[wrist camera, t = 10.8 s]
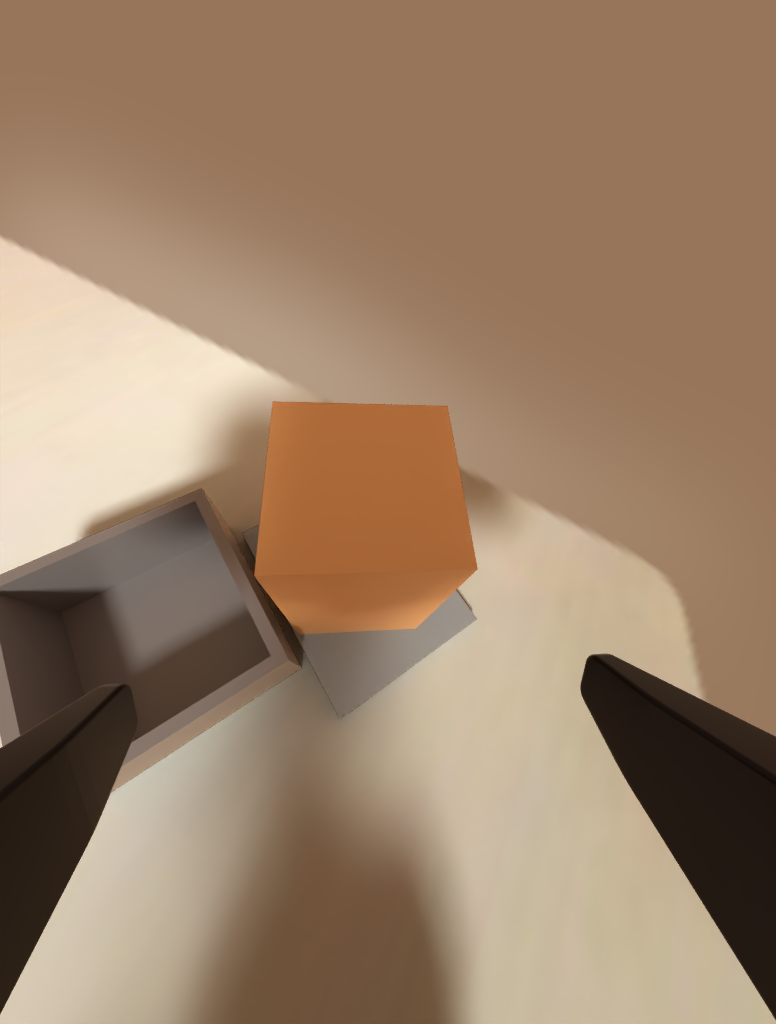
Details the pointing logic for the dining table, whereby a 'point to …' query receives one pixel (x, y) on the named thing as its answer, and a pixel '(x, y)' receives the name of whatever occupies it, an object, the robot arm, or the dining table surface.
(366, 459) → the orange box
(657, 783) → the robot arm
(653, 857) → the dining table surface
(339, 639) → the mat
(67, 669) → the parts bin
